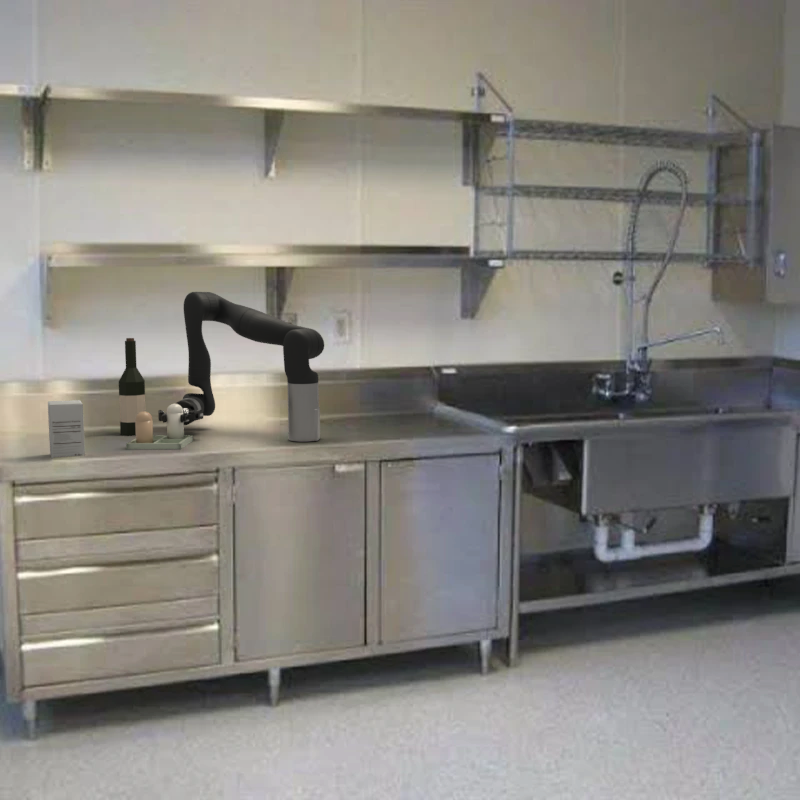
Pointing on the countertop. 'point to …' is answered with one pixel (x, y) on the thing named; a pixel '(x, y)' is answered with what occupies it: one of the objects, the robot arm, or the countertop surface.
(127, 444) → the green rectangular open tray
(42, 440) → the countertop surface
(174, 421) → the white dome-topped cylinder
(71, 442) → the supplement box
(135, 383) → the wine bottle
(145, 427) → the tan dome-topped cylinder
